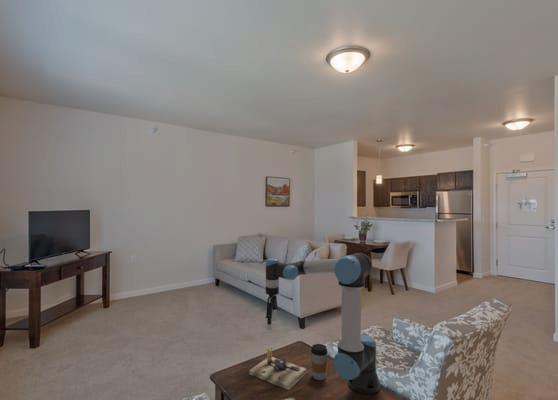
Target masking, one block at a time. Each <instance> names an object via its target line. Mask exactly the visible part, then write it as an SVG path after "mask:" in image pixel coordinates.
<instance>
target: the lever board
mask: <svg viewBox="0 0 558 400" xmlns="http://www.w3.org/2000/svg"><path fill="white" fill-rule="evenodd" d="M275 359H277V358H276V357H274V356H272V361H275ZM274 366H275V364H273V363H271V364H268V363H267V357H266V358H265V359H263V360H262V361H260V362H259V363H257V364H256V365H255V366H253V367H252V368H251V369H249V374H248V375H249V376H252V377H255V378H258V379H261V380H263V381H265V382H268V383H270V384H272V385H275V386H278V387H281V388H282V389H285V390H288V391H290V390H291V389H292V388H293V387H294V386H295V385H296V384H297V383H298V382H299V381H300V380H301V379H302V378H303V377H305V375H306V374H307V373H308V369H307V367H303V366H300V365H297V364H294V363H291V362H289V361H287V363H286V366H289V367H290V368H289V369H288V368H285V369H283V370H277V369H274Z"/></svg>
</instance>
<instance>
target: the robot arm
mask: <svg viewBox="0 0 558 400" xmlns="http://www.w3.org/2000/svg"><path fill="white" fill-rule="evenodd" d="M372 271H373V262H372V259H371V258H370V257H369V256H368V255H367V254H365V253H362V252H357V253H352V254H349V255H345V256H344V255H343V256H342V257H337V258H326V259H325V258H323V259H315V260H313V259H311V260H299V261H296V262H291V263H280V259H279V258H275V257H274V258H273V257H269V258H267V259H265V280H264V282H265V294H266V295H268V297H267V300H266V301H267V302H266V316H265V319H266V331H273V322H277V310H279V307H278V298H277V297H278V296H277V295H279V293H280V287H279V286H280V278H281V279H284V280H288V281H289V280H291V281H294V280H296V279H297V277H298V276H302V275H303V276H304V275H321V274H324V275H325V274H334V275H335V277H336V278H337V280H338V286H339V287H340V288H341V326H340V327H341V330H340V331H341V332H340V334H341V336H340V337H341V339H340V340H339V341H338V342H337V353H336V354H335V355H334V357H333V361H332V362H333V368H334V370H335V371H336V372H337V373H338V375H339V376H340V377H341V378H343V379H344V380H347V385H348V387H349V388H350V389H351V390H353V391H354V392H356V393H358V394H362V395H373V394H376V393H378V392H379V391H380V389H381V382H380V379H379V376H378V373H377V344H376V343H377V341H376V340H375V338H373V337H371V336H370V335H369V336H368V335H365V334H361V333H362V330H361V329H362V325H361V324H362V321H361V320H362V289H364V288H365V286H366V284H365V283H366V280H365V278H366V277H367V276H368V275H370V274H371V272H372Z"/></svg>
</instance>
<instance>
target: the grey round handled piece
mask: <svg viewBox="0 0 558 400" xmlns="http://www.w3.org/2000/svg"><path fill="white" fill-rule="evenodd" d="M266 354H267V355H266V356H267V357H266V358H267V363H268V364H271V363H273V364H275V366H274V369H277V370H283V369H285V368H288V369H289V368H290V367H289V366H286V363H287V362H288V361H287V359H285V358H283V357H278V358H277V359H275V361H272V357H273V349H272V348H267V353H266Z"/></svg>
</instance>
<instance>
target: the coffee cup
mask: <svg viewBox="0 0 558 400" xmlns="http://www.w3.org/2000/svg"><path fill="white" fill-rule="evenodd" d="M310 353H311V369H312V377H313V379H315V380H316V381H323V380H325V378H326V373H327V363H328V361H327V359H328V358H327V356H328V349H327V346H326V345H324V344H321V343H315V344H313V345H312V346H311V348H310Z"/></svg>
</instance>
